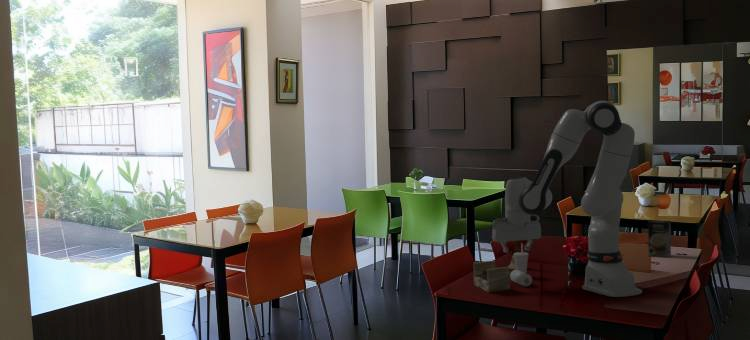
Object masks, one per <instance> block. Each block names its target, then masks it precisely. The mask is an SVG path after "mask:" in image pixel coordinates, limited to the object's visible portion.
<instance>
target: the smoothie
mask: <svg viewBox="0 0 750 340" xmlns="http://www.w3.org/2000/svg"><path fill="white" fill-rule="evenodd" d="M520 245H521V246H520V247H521V252H517V253H515V252H514V253H512V254H513V255H512V256H514V260H515V266H516V270H519V271H522V272H524V273H526V274H527V270H528V261H529V253H528V252H525V251H524V249H523V248H524V246H523V243H522V242H521V243H520Z"/></svg>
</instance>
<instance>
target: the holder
mask: <svg viewBox="0 0 750 340" xmlns="http://www.w3.org/2000/svg"><path fill="white" fill-rule="evenodd" d="M472 265H473V266H472V268H473V285H474V286H476V287H477V288H479V287H480V288H479V289H481V288H482V290H483V289H484V290H483V291H485V292H486V293H488V294H491V293H496V292H498V291H499V292H505V290H507V291H511V278H510V274H511V271H510V270H511V269H509V267H508V266H502V267H496V261H495V260H485V261H476V262H472ZM490 292H491V293H490Z"/></svg>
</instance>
